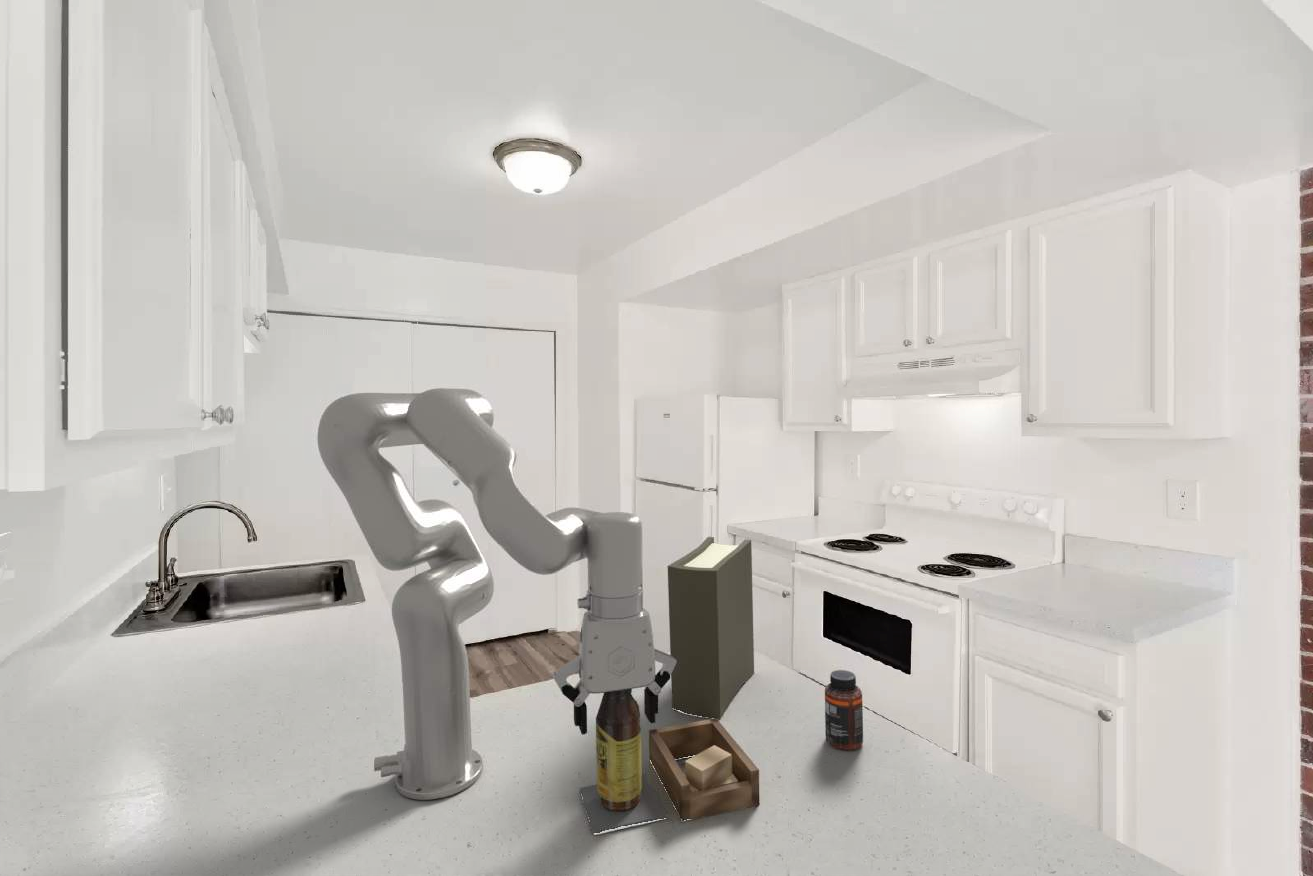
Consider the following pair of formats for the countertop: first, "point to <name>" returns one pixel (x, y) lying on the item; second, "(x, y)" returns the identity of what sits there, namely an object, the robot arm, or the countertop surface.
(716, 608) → the book
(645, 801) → the mat
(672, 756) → the tray
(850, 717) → the supplement bottle
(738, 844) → the countertop surface
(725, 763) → the offcut top
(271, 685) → the countertop surface
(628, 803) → the sauce bottle
